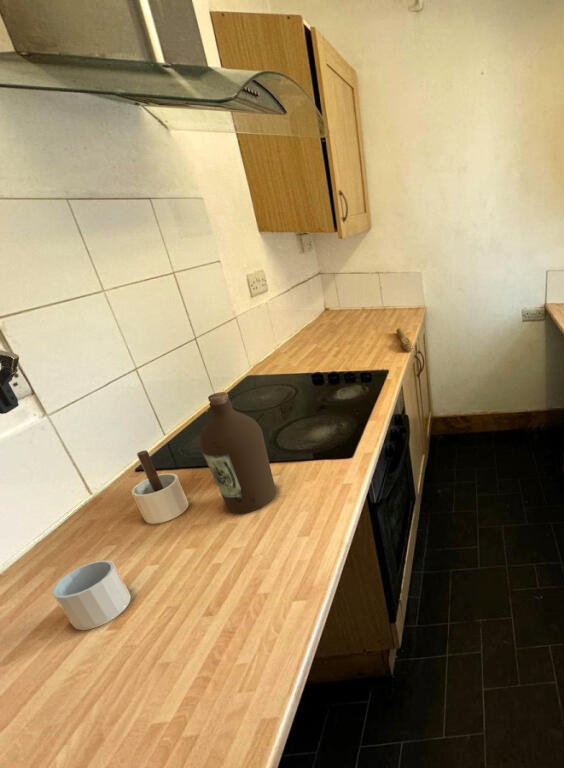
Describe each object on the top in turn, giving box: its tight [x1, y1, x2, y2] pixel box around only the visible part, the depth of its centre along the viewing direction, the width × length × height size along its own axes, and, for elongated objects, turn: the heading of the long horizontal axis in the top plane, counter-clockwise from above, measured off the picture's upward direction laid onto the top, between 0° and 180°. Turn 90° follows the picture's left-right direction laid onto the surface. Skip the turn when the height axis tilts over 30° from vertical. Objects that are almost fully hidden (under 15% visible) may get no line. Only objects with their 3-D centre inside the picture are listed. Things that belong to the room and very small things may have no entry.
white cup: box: [131, 472, 189, 525], centre depth 85 cm, size 7×7×7 cm
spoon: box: [136, 449, 164, 492], centre depth 84 cm, size 4×2×14 cm, turn 110°
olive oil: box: [199, 391, 277, 514], centre depth 85 cm, size 11×11×25 cm
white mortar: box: [51, 559, 132, 631], centre depth 64 cm, size 7×7×7 cm
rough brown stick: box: [395, 327, 413, 352], centre depth 188 cm, size 3×3×30 cm
